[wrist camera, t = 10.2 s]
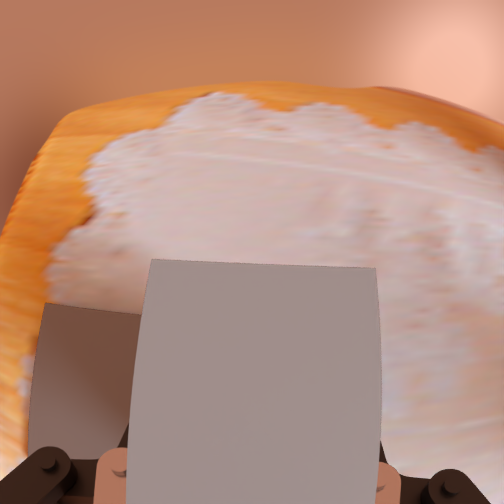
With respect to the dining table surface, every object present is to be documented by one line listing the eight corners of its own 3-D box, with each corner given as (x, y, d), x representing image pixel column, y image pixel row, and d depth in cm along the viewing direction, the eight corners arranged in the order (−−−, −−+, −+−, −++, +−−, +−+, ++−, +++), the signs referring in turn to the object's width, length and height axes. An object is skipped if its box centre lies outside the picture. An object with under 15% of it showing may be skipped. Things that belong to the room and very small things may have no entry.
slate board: (345, 327, 19) (348, 324, 18) (337, 515, 14) (340, 519, 13) (51, 306, 20) (45, 302, 19) (34, 464, 15) (28, 465, 14)
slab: (217, 352, 16) (144, 258, 6) (302, 356, 15) (375, 267, 6) (207, 503, 12) (128, 628, 2) (293, 507, 12) (343, 643, 2)
